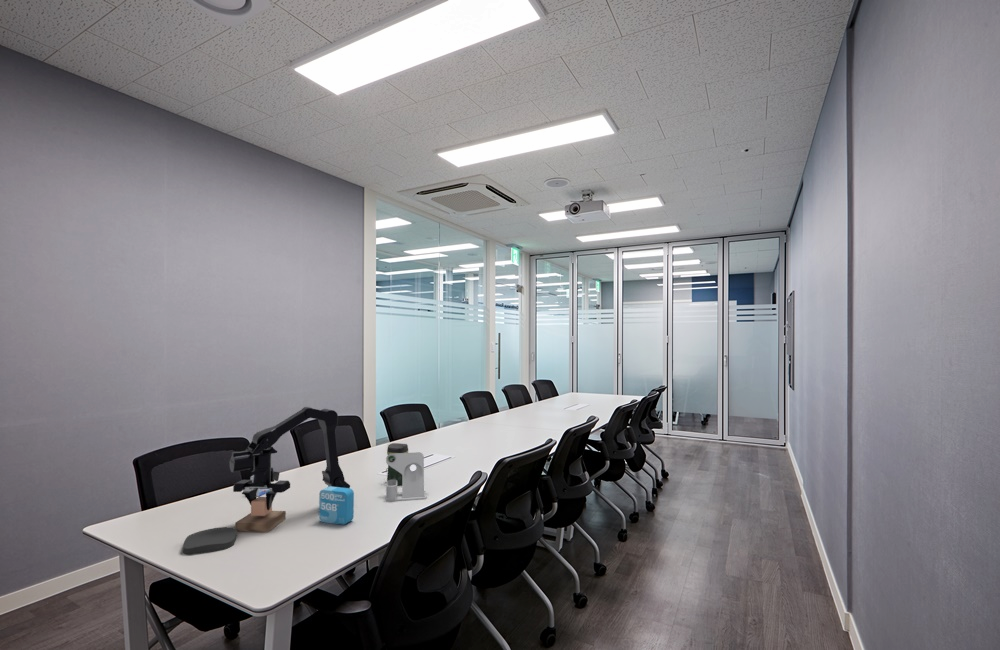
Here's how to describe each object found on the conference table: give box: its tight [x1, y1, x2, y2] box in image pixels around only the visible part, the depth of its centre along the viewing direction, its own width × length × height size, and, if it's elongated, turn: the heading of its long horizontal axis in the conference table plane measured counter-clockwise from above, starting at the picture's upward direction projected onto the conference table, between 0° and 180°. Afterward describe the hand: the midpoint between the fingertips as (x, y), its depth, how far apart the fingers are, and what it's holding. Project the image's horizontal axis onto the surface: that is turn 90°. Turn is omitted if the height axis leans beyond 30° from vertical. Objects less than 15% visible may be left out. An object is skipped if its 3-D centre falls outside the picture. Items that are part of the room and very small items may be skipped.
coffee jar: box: [386, 442, 409, 486], centre depth 223 cm, size 10×8×19 cm
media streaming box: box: [182, 526, 238, 556], centre depth 156 cm, size 15×15×3 cm
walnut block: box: [234, 510, 287, 533], centre depth 172 cm, size 12×12×3 cm
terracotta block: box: [250, 496, 273, 516], centre depth 172 cm, size 5×5×5 cm
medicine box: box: [249, 474, 269, 498], centre depth 207 cm, size 8×4×9 cm, turn 168°
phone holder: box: [385, 451, 428, 503], centre depth 203 cm, size 17×10×18 cm, turn 102°
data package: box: [318, 486, 355, 526], centre depth 175 cm, size 12×4×12 cm, turn 74°
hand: (261, 509), depth 172 cm, fingers closed on terracotta block, 5 cm apart
